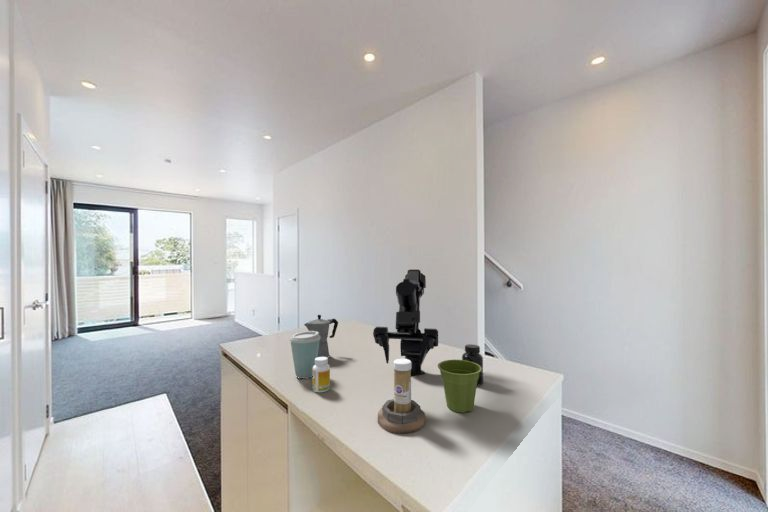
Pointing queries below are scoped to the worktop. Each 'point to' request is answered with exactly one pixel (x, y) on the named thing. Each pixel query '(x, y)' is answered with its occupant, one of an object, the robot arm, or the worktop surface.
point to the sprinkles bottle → (402, 386)
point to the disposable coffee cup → (305, 352)
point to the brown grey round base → (401, 418)
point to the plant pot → (459, 383)
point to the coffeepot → (322, 333)
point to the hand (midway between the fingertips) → (403, 363)
